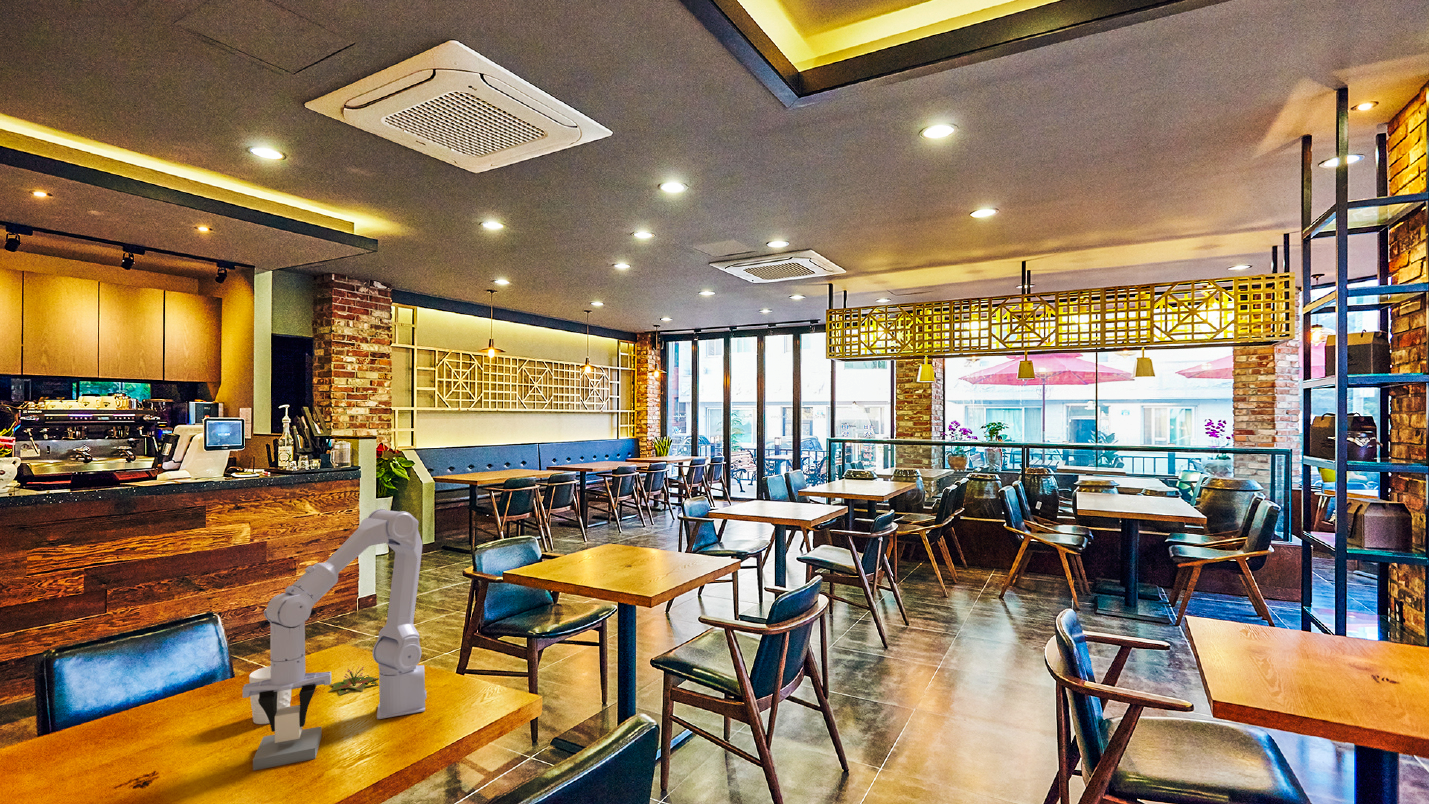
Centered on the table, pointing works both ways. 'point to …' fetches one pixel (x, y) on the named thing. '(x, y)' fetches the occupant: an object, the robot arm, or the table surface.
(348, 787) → the table surface
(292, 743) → the slate tile
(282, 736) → the cream block
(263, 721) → the white cup
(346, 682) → the lily flower
